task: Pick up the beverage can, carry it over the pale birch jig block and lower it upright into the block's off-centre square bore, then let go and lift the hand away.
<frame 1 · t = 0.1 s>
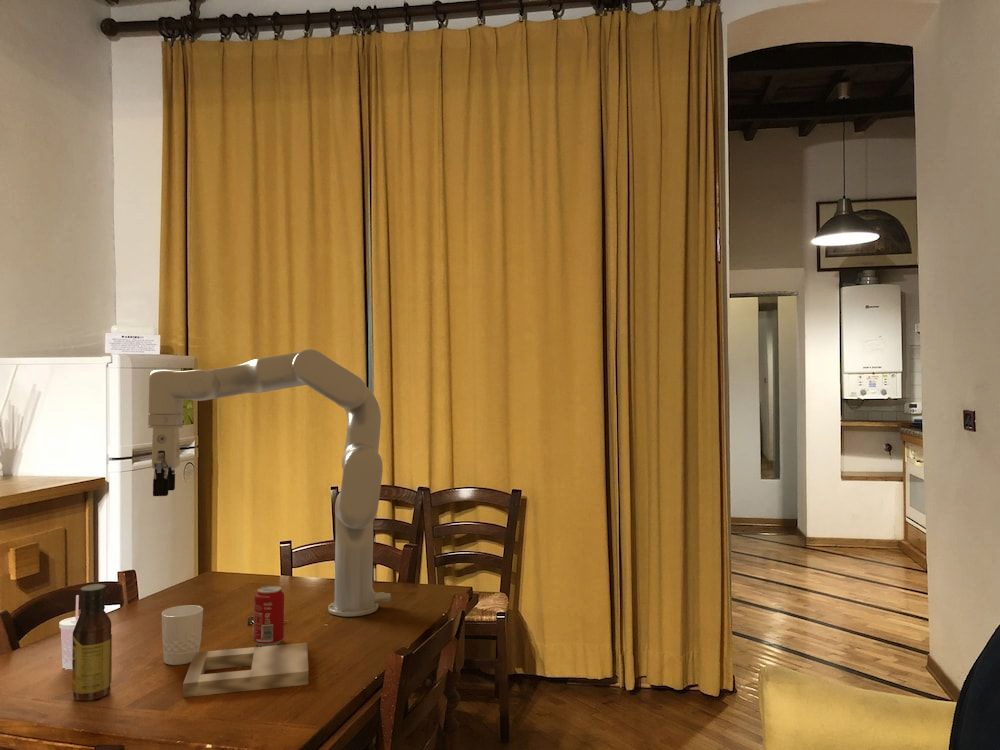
hand: (164, 493, 169), 31 cm above the table, tool pointing down, fingers open, 9 cm apart
sauce bottle: (91, 697, 128), on the table
beverage cup: (75, 666, 143), on the table
white cup: (181, 660, 146), on the table
jig: (249, 674, 139), on the table
beverage can: (268, 644, 156), on the table
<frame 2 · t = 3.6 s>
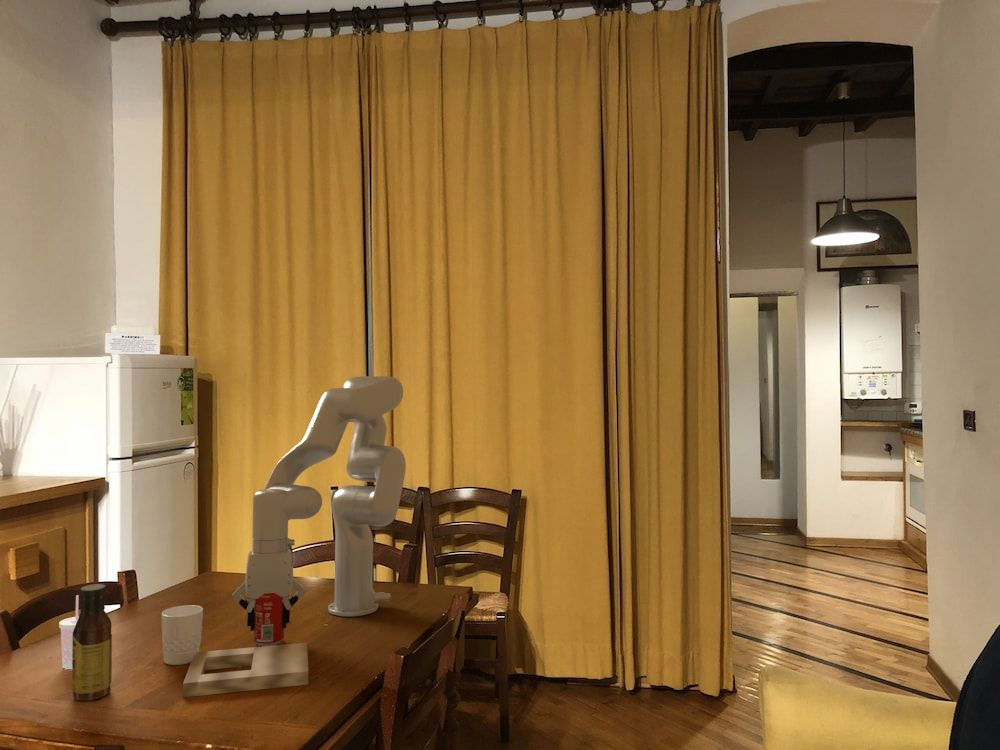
hand: (268, 626, 156), 4 cm above the table, tool pointing down, fingers open, 6 cm apart
beverage can: (268, 644, 156), on the table, touching gripper
everything else where it was.
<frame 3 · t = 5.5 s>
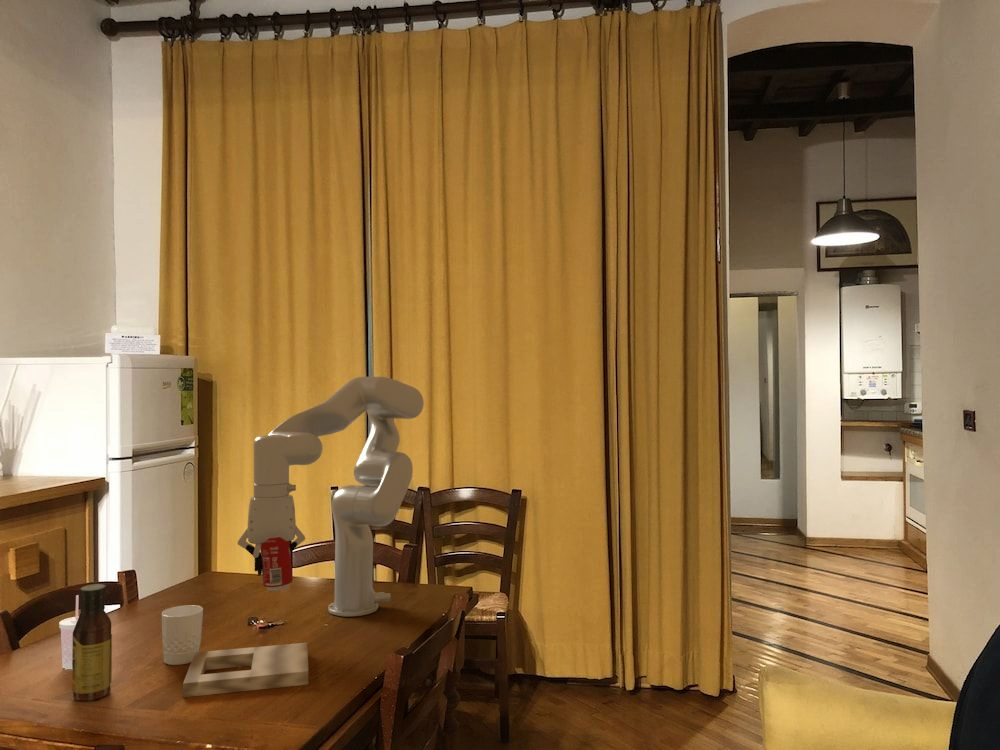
hand: (272, 572, 157), 15 cm above the table, tool pointing down, fingers closed on beverage can, 4 cm apart
beverage can: (278, 588, 157), point 12 cm above the table, touching gripper
everything else where it was.
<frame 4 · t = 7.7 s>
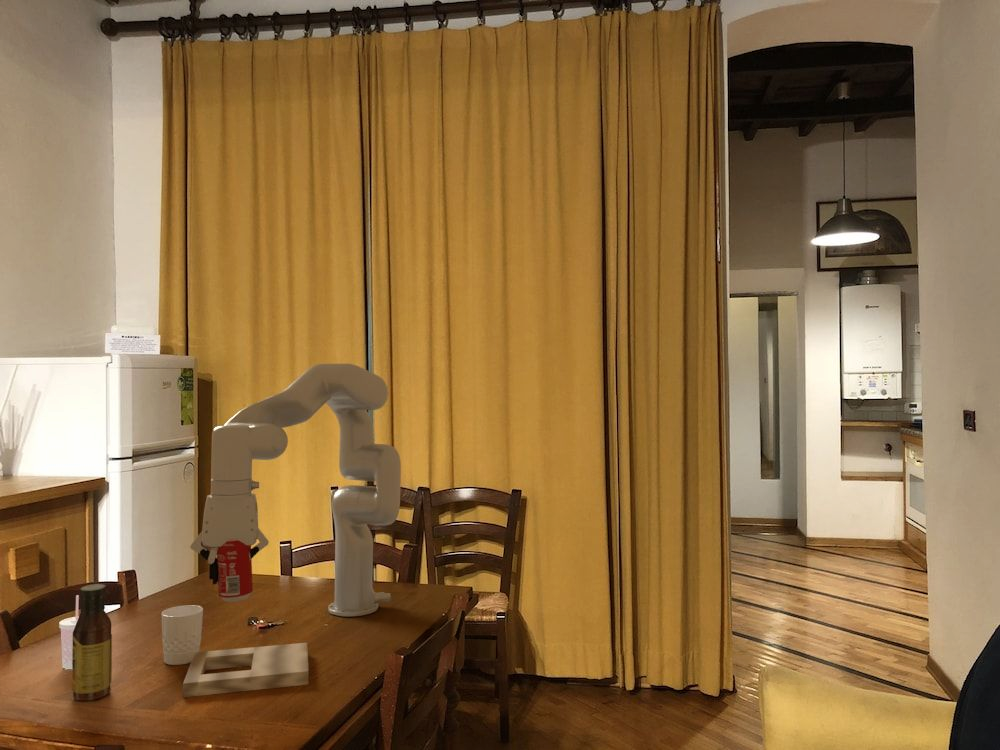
hand: (229, 580, 138), 19 cm above the table, tool pointing down, fingers closed on beverage can, 4 cm apart
beverage can: (235, 599, 139), point 15 cm above the table, touching gripper
everything else where it was.
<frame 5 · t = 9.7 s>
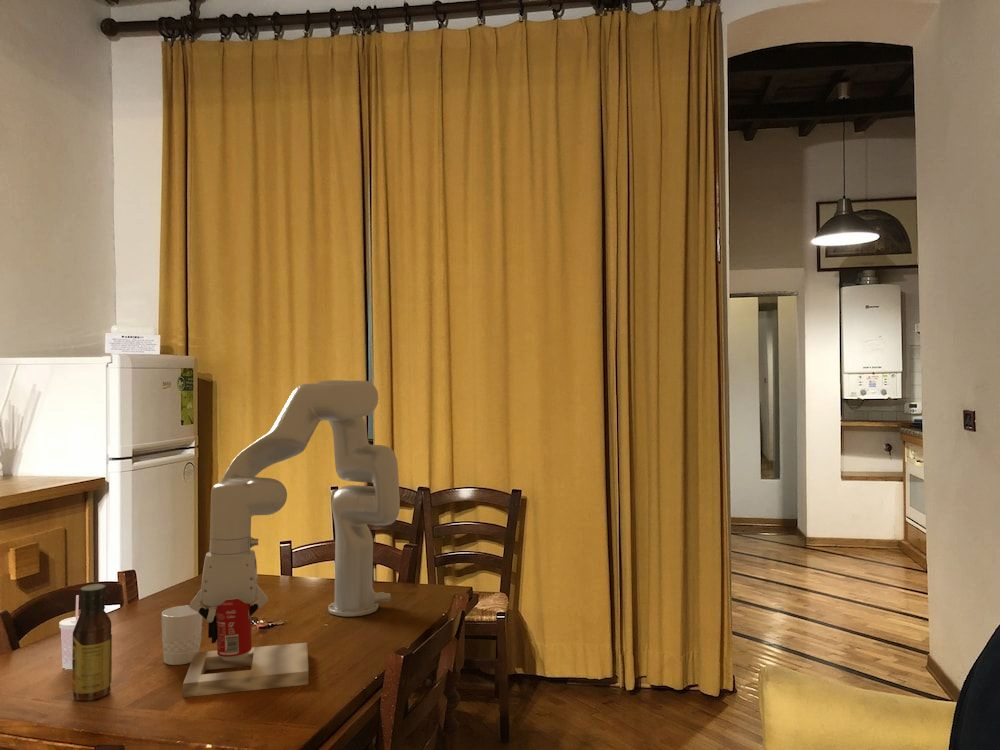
hand: (228, 638, 138), 7 cm above the table, tool pointing down, fingers closed on beverage can, 4 cm apart
beverage can: (234, 657, 138), point 4 cm above the table, touching gripper
everything else where it was.
when the fingers open (4 cm above the table, at t = 11.3 s): beverage can stays where it is, resting on jig.
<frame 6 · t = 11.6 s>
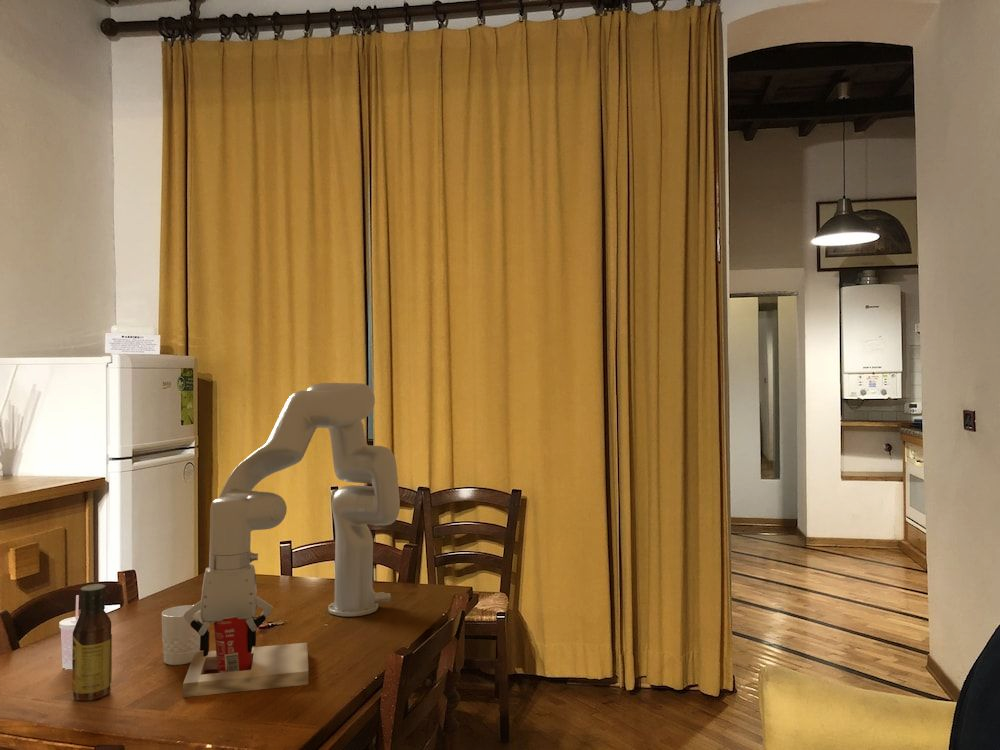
hand: (228, 651, 138), 5 cm above the table, tool pointing down, fingers open, 7 cm apart
beverage can: (235, 674, 138), resting on jig
everything else where it was.
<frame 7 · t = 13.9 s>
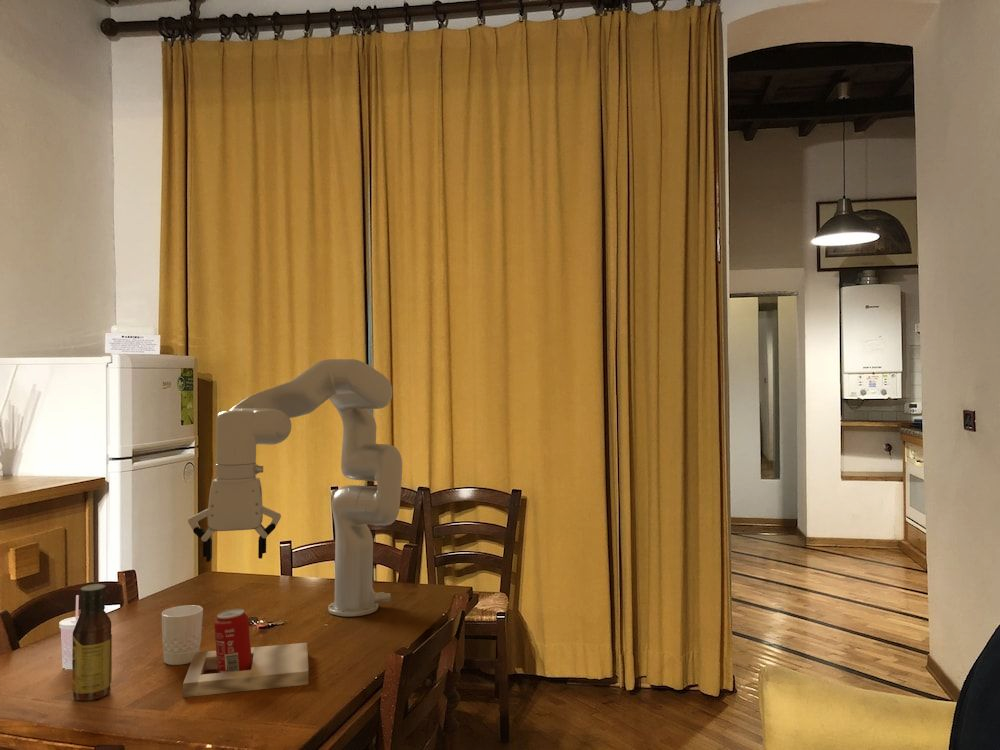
hand: (235, 558, 140), 22 cm above the table, tool pointing down, fingers open, 9 cm apart
nothing on the table moved.
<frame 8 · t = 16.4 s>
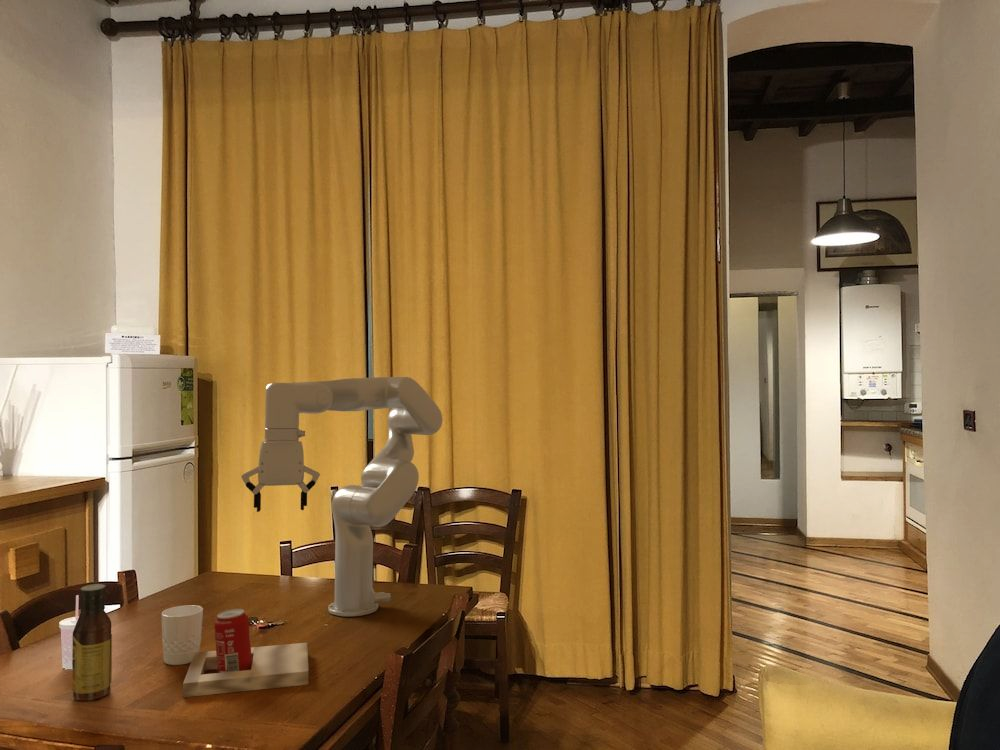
hand: (280, 510, 163), 28 cm above the table, tool pointing down, fingers open, 9 cm apart
nothing on the table moved.
at the end: beverage can 1.4 cm from the target spot on the jig, point 0.1 cm above the jig's base; beverage can tilted 5°; the gripper is holding nothing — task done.
